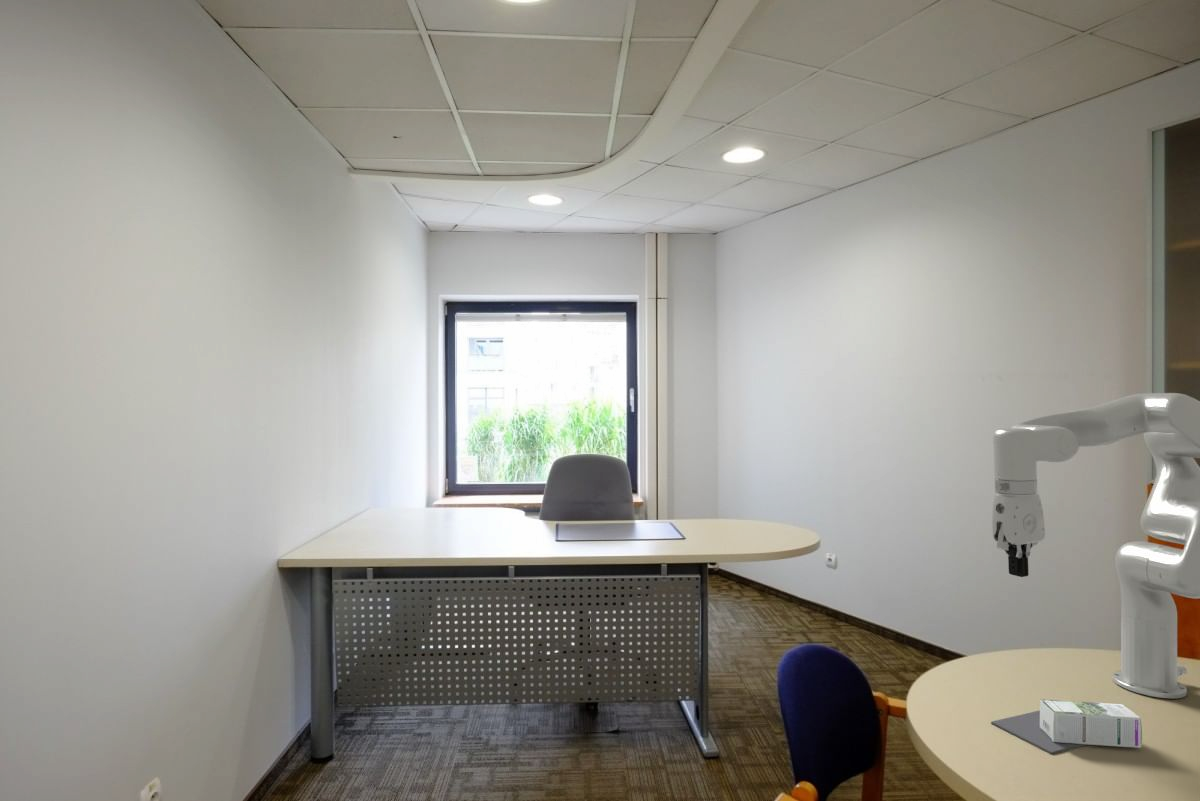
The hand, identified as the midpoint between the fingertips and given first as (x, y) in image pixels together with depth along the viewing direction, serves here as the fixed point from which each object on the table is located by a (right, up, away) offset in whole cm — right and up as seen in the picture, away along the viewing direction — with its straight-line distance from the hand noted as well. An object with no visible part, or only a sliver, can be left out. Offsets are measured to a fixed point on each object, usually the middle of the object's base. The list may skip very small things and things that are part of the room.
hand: (1018, 574), depth 140 cm
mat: (-1, -27, -12) cm, 29 cm away
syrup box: (-4, -23, -15) cm, 28 cm away
